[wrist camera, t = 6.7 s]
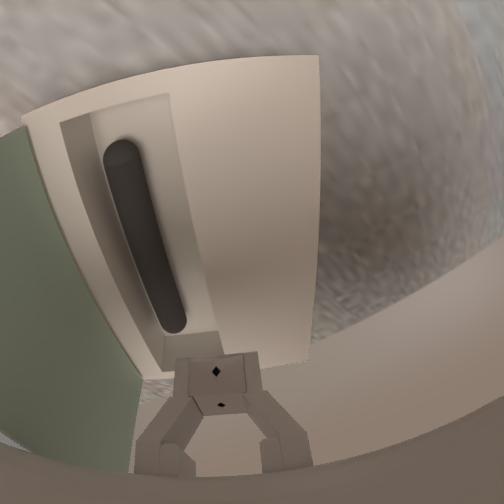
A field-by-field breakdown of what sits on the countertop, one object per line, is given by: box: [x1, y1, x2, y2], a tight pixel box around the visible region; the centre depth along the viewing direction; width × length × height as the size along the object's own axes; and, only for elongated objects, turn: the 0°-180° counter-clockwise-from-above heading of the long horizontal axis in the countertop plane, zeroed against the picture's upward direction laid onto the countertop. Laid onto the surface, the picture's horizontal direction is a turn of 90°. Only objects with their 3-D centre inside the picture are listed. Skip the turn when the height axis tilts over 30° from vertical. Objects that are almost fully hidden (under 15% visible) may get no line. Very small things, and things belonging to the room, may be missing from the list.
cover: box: [0, 126, 143, 473], centre depth 11 cm, size 10×19×1 cm
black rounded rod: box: [103, 140, 187, 334], centre depth 18 cm, size 2×14×2 cm, turn 5°
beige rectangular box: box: [21, 55, 321, 380], centre depth 18 cm, size 13×20×5 cm, turn 5°
